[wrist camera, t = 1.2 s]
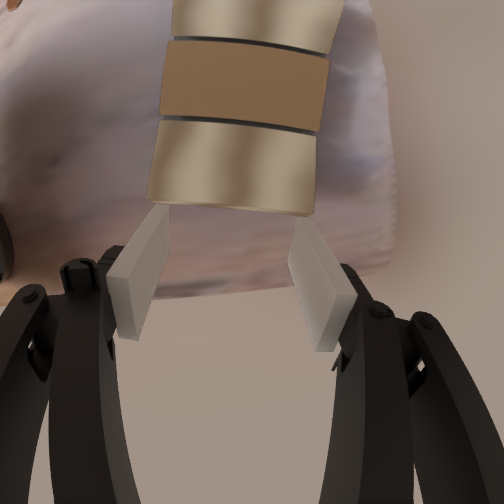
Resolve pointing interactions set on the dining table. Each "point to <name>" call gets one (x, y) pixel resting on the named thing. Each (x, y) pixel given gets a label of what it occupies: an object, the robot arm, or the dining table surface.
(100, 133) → the dining table surface
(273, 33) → the plank
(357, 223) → the dining table surface
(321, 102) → the floor board
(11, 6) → the decorative fence
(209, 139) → the plank
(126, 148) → the dining table surface
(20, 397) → the robot arm
